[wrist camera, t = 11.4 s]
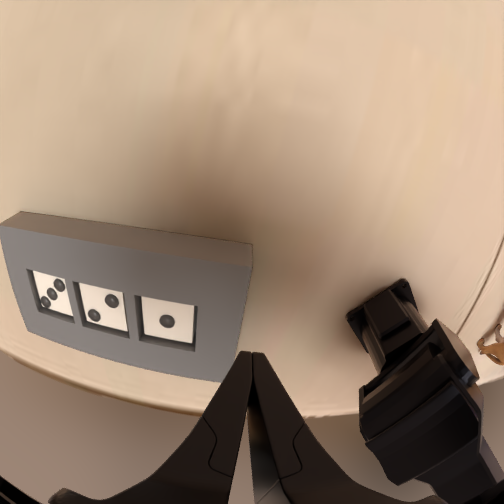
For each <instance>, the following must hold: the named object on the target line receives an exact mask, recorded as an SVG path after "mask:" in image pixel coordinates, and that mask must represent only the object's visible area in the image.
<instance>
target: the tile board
mask: <svg viewBox="0 0 504 504" xmlns="http://www.w3.org/2000/svg"><path fill="white" fill-rule="evenodd" d="M0 239H1V244H2V249H3V253H4V258H5V262H6V266H7V270H8V274H9V277H10V281H11V284H12V288H13V291H14V294H15V297H16V300H17V303H18V306H19V309H20V312H21V315H22V317H23V320H24V323H25V325H26V328H27V330H28V331H29V332H31V333H34V334H36V335H39V336H41V337H44V338H46V339H49V340H51V341H54V342H56V343H59V344H62V345H65V346H67V347H70V348H73V349H76V350H79V351H82V352H85V353H88V354H91V355H95V356H98V357H101V358H105V359H108V360H112V361H115V362H119V363H123V364H127V365H131V366H135V367H139V368H143V369H147V370H152V371H156V372H161V373H166V374H171V375H176V376H182V377H187V378H193V379H199V380H206V381H213V382H220V383H222V381H223V380H224V378H225V376H226V375H227V373H228V371H229V370H230V368H231V366H232V364H233V363H234V359H235V354H236V349H237V344H238V339H239V333H240V328H241V323H242V318H243V313H244V308H245V303H246V298H247V293H248V288H249V283H250V278H251V272H252V244H246V243H239V242H232V241H226V240H219V239H212V238H206V237H199V236H192V235H185V234H179V233H172V232H165V231H158V230H151V229H144V228H137V227H130V226H123V225H116V224H109V223H102V222H95V221H87V220H80V219H73V218H65V217H58V216H51V215H43V214H36V213H28V212H19V213H17V214H15V215H14V216H12V217H10V218H9V219H7V220H5V221H4V222H2V223H0ZM33 271H37V272H40V273H44V274H48V275H51V276H55V277H59V278H63V279H65V284H66V289H67V293H68V298H69V302H70V306H71V310H72V314H73V316H71V315H67V314H64V313H61V312H58V311H55V310H52V309H49V308H46V307H43V306H42V303H41V300H40V296H39V293H38V289H37V285H36V281H35V277H34V273H33ZM79 283H83V284H87V285H91V286H96V287H100V288H104V289H109V290H114V291H118V292H123V293H124V297H125V306H126V314H127V321H128V328H129V330H128V331H123V330H119V329H115V328H111V327H107V326H104V325H100V324H96V323H92V322H89V321H87V318H86V314H85V310H84V305H83V300H82V296H81V290H80V285H79ZM141 296H143V297H148V298H153V299H158V300H164V301H169V302H175V303H181V304H187V305H193V306H197V313H196V329H195V333H194V337H193V342H192V343H188V342H182V341H177V340H171V339H166V338H161V337H156V336H151V335H146V334H145V332H144V322H143V310H142V297H141Z"/></svg>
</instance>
